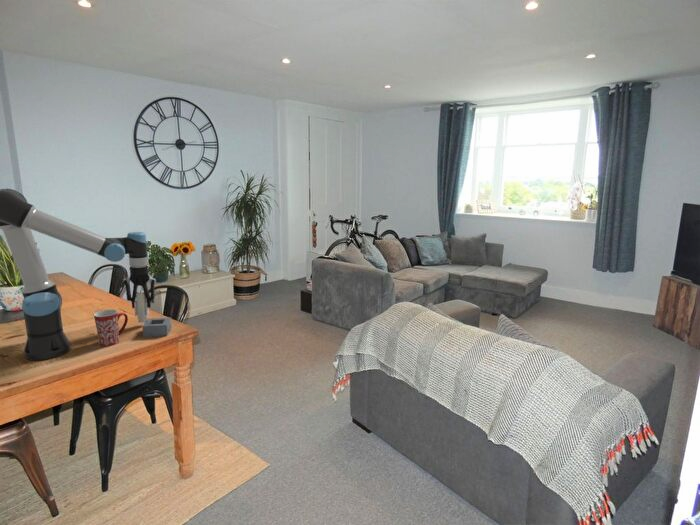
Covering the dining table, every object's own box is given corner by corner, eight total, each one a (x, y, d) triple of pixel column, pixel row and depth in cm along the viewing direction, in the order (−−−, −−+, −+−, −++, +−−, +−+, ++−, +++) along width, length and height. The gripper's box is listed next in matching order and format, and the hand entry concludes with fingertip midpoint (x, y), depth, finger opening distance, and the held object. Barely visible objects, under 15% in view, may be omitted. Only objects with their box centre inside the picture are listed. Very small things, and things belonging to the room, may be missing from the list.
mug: (100, 349, 173) (96, 318, 170) (94, 342, 179) (90, 312, 176) (133, 340, 182) (130, 311, 179) (126, 334, 188) (123, 306, 185)
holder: (167, 335, 188) (166, 325, 187) (143, 337, 186) (142, 326, 185) (171, 327, 197) (170, 317, 196) (148, 328, 195) (147, 318, 194)
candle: (146, 322, 197) (144, 291, 194) (136, 322, 196) (134, 292, 193) (148, 319, 201) (146, 289, 198) (139, 319, 200) (137, 289, 197)
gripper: (160, 264, 198) (163, 311, 203) (121, 264, 195) (124, 312, 199) (156, 267, 191) (159, 316, 196) (115, 267, 188) (119, 317, 192)
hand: (142, 314), depth 198 cm, fingers closed on candle, 4 cm apart
